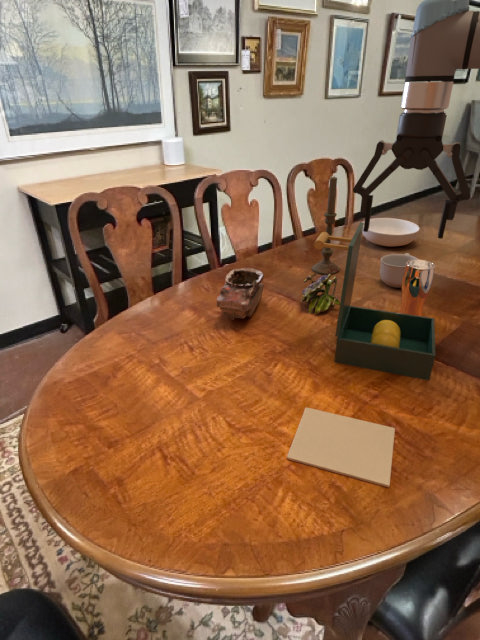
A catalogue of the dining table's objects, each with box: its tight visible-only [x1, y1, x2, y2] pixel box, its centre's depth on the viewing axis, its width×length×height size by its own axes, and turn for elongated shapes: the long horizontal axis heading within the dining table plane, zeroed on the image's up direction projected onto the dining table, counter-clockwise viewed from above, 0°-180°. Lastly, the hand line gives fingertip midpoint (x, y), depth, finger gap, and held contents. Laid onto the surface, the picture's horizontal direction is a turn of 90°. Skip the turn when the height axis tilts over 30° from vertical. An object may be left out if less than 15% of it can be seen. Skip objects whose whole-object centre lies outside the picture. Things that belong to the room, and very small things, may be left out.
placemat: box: [286, 406, 396, 488], centre depth 71 cm, size 16×13×1 cm
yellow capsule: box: [370, 320, 401, 348], centre depth 93 cm, size 12×6×6 cm, turn 159°
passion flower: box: [300, 272, 340, 315], centre depth 113 cm, size 11×11×12 cm
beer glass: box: [397, 259, 436, 317], centre depth 105 cm, size 7×7×15 cm
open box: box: [334, 305, 436, 381], centre depth 93 cm, size 19×16×7 cm
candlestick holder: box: [311, 175, 341, 276], centre depth 131 cm, size 9×9×30 cm
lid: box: [313, 221, 364, 338], centre depth 91 cm, size 20×16×8 cm
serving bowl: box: [362, 217, 420, 248], centre depth 159 cm, size 21×21×7 cm
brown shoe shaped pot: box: [216, 267, 265, 320], centre depth 111 cm, size 13×20×10 cm, turn 158°
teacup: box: [379, 252, 420, 289], centre depth 127 cm, size 14×11×8 cm
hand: (402, 233), depth 81 cm, fingers open, 13 cm apart
